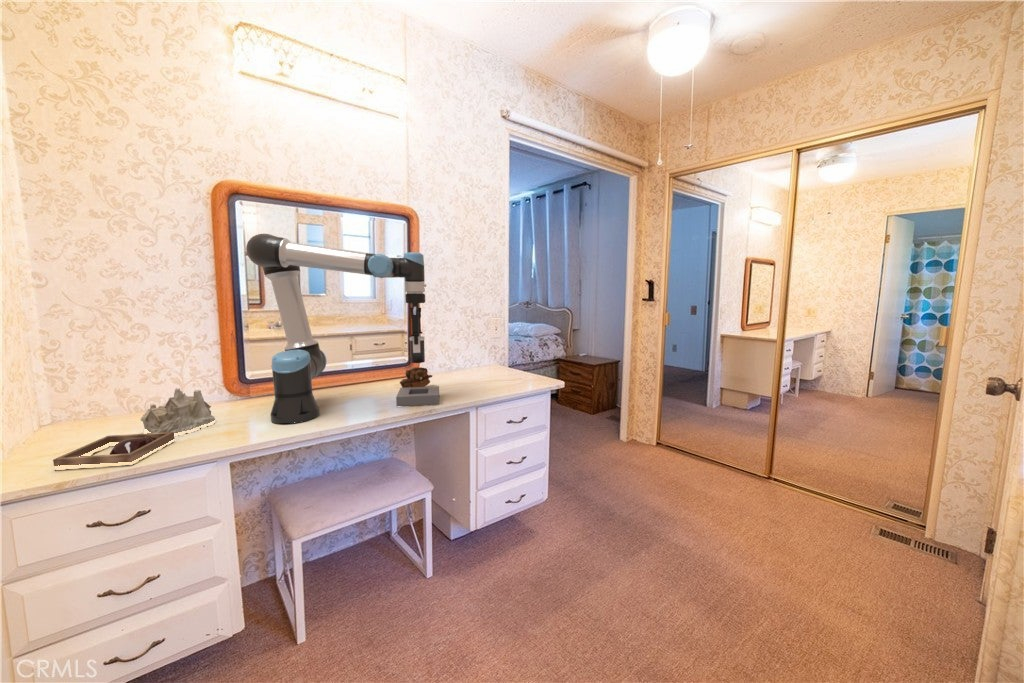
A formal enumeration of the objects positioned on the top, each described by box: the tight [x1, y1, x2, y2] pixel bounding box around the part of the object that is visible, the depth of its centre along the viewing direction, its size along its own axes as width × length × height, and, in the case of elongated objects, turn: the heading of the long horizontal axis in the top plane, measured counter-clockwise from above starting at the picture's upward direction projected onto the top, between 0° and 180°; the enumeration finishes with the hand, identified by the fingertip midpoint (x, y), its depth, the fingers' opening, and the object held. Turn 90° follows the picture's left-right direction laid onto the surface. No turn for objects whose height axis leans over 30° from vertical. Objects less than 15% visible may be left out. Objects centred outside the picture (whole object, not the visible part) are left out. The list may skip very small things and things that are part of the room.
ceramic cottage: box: [140, 387, 216, 433], centre depth 125 cm, size 16×16×15 cm
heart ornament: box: [109, 436, 157, 455], centre depth 107 cm, size 6×12×11 cm
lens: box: [409, 335, 426, 364], centre depth 154 cm, size 6×6×10 cm
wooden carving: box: [399, 366, 433, 388], centre depth 174 cm, size 16×5×10 cm, turn 143°
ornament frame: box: [52, 432, 175, 467], centre depth 106 cm, size 17×16×3 cm
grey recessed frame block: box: [395, 385, 440, 407], centre depth 156 cm, size 16×14×4 cm
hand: (417, 351), depth 154 cm, fingers closed on lens, 6 cm apart
